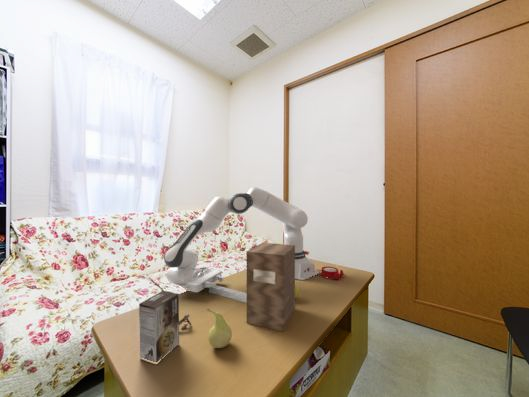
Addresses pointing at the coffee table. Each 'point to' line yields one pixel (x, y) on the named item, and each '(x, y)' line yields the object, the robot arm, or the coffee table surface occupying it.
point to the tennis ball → (296, 291)
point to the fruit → (219, 332)
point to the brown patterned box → (270, 285)
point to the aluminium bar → (229, 293)
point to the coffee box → (159, 325)
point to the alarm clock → (331, 272)
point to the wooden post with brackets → (184, 321)
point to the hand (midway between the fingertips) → (219, 282)
